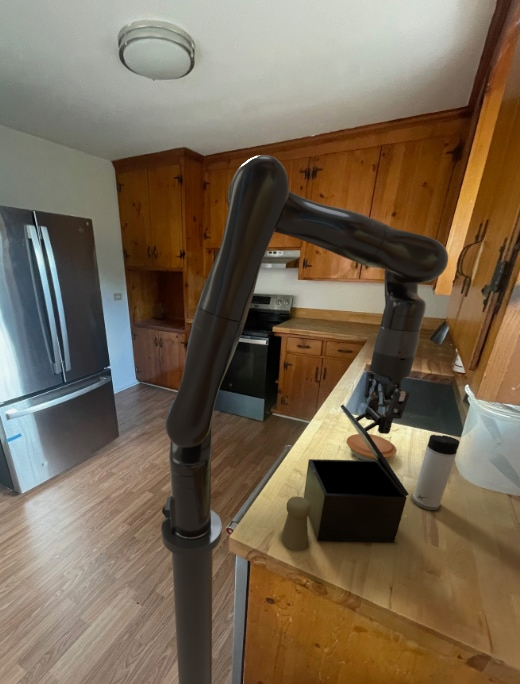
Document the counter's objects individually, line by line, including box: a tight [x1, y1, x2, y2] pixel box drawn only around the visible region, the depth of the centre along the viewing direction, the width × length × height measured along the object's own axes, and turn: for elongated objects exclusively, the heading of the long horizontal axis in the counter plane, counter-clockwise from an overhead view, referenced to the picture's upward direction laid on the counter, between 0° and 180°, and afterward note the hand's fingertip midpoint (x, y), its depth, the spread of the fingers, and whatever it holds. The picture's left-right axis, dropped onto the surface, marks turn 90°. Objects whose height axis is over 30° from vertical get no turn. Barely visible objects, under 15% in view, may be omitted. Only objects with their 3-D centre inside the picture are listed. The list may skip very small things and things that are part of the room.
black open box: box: [303, 458, 408, 544], centre depth 80 cm, size 18×15×13 cm
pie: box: [346, 433, 397, 461], centre depth 111 cm, size 15×16×5 cm
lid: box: [339, 404, 410, 497], centre depth 74 cm, size 19×15×6 cm
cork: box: [280, 495, 311, 551], centre depth 73 cm, size 6×6×11 cm
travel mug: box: [412, 434, 461, 511], centre depth 84 cm, size 6×7×20 cm
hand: (376, 425), depth 72 cm, fingers closed on lid, 6 cm apart
